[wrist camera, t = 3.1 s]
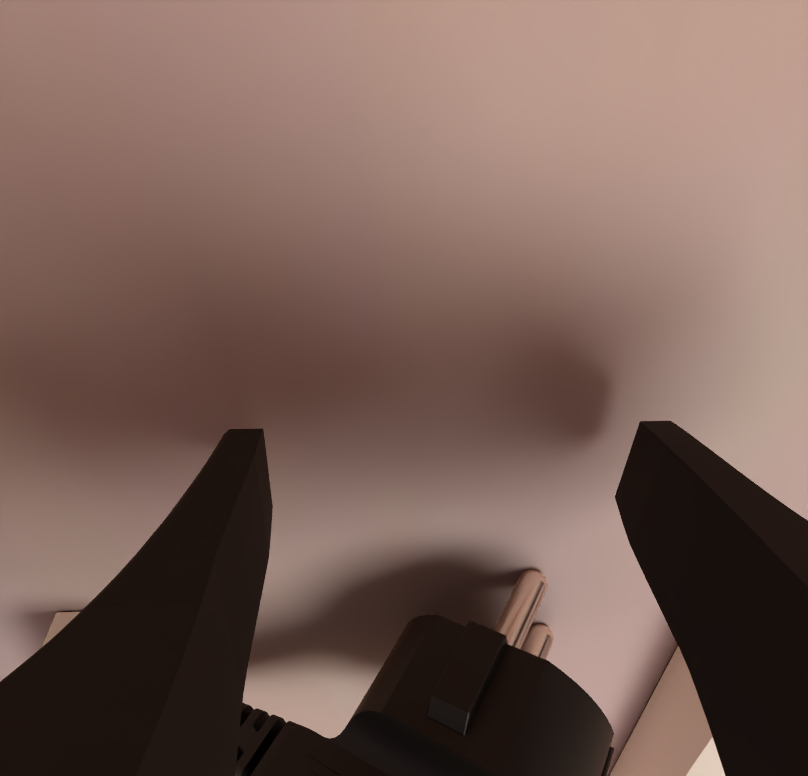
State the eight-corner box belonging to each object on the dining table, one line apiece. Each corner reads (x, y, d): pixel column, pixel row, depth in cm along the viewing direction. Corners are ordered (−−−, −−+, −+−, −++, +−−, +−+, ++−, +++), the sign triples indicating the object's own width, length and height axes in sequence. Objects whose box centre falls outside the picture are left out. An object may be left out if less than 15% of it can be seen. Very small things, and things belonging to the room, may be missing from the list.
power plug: (75, 654, 16) (523, 961, 9) (268, 455, 20) (649, 573, 14) (170, 752, 19) (547, 1027, 13) (316, 561, 24) (643, 694, 17)
